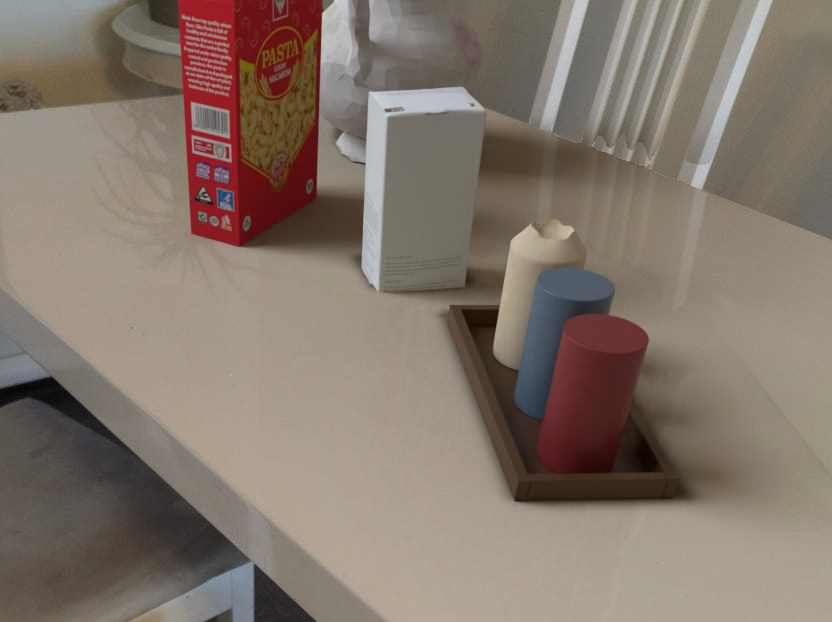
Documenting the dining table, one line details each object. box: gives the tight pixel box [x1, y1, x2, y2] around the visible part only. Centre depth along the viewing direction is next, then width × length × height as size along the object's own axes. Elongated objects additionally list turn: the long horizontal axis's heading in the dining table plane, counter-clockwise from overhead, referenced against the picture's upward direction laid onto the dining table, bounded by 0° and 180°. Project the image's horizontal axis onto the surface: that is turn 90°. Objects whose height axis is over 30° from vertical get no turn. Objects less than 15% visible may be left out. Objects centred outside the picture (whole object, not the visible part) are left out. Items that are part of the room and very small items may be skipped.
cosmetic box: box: [361, 87, 488, 293], centre depth 81 cm, size 8×6×15 cm
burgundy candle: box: [537, 314, 650, 474], centre depth 63 cm, size 5×5×9 cm
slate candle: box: [514, 267, 616, 420], centre depth 68 cm, size 5×5×9 cm
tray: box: [447, 304, 680, 502], centre depth 71 cm, size 11×25×2 cm, turn 6°
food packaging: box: [177, 0, 324, 247], centre depth 86 cm, size 15×5×25 cm, turn 153°
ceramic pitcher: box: [319, 0, 484, 164], centre depth 102 cm, size 22×20×25 cm
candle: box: [493, 218, 588, 371], centre depth 72 cm, size 6×6×10 cm
